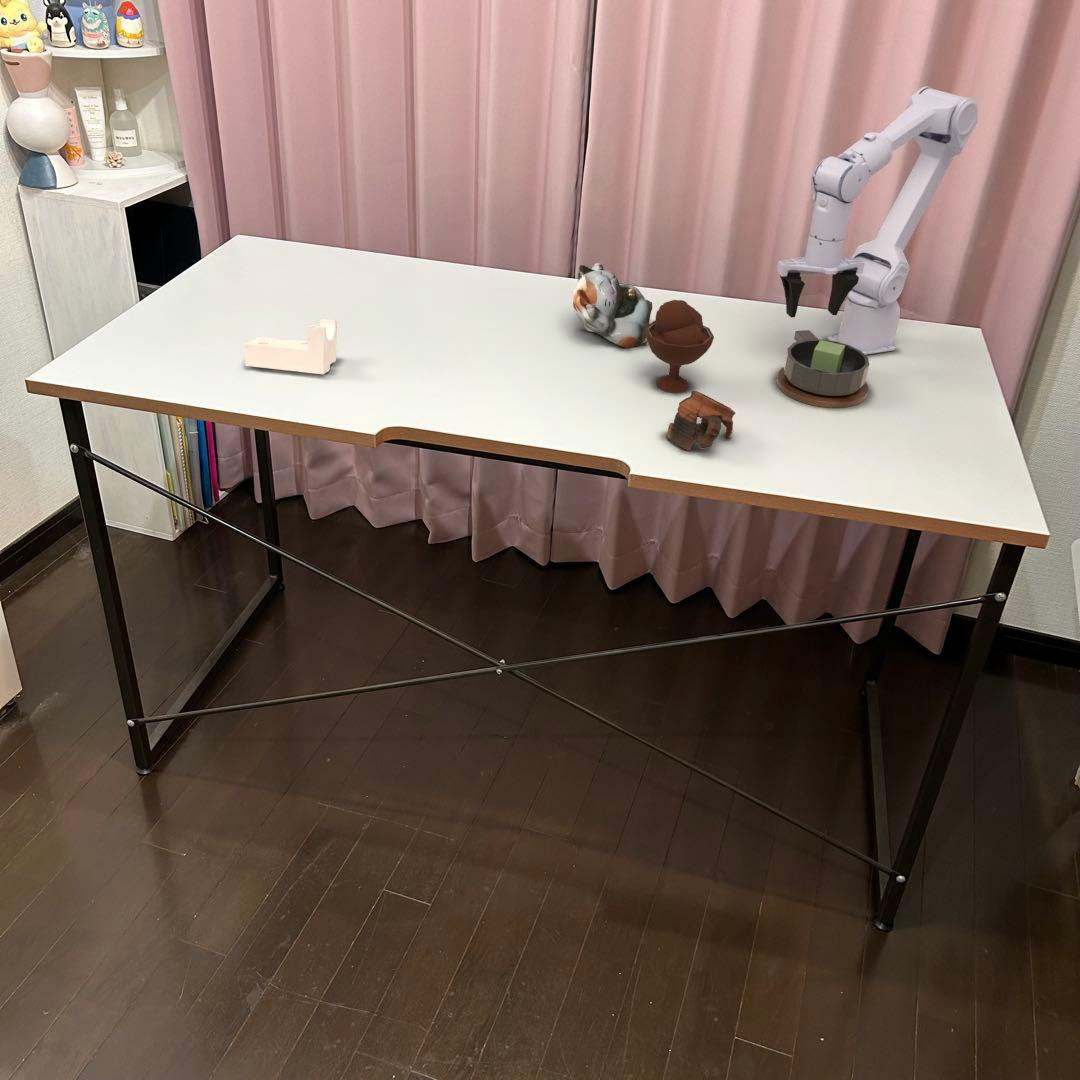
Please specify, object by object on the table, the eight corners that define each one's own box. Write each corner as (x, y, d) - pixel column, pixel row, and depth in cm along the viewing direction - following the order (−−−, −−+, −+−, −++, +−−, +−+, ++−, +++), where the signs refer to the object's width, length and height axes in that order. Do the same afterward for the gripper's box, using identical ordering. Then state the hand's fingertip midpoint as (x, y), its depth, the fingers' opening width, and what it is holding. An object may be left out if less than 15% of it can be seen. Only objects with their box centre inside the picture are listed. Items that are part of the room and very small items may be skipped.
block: (814, 367, 191) (820, 339, 188) (839, 372, 190) (845, 345, 187) (808, 376, 188) (814, 349, 185) (833, 382, 186) (839, 354, 184)
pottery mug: (654, 429, 176) (679, 381, 174) (704, 453, 179) (729, 406, 177) (679, 449, 164) (706, 398, 163) (733, 474, 168) (759, 424, 166)
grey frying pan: (877, 396, 185) (883, 371, 183) (802, 401, 183) (807, 376, 180) (832, 351, 199) (837, 328, 196) (762, 355, 196) (766, 332, 193)
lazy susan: (832, 362, 198) (833, 357, 198) (885, 400, 187) (887, 395, 186) (759, 373, 193) (760, 368, 192) (809, 413, 182) (810, 408, 181)
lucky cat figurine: (648, 353, 197) (619, 290, 188) (585, 366, 202) (554, 306, 193) (660, 299, 206) (633, 236, 197) (600, 313, 211) (570, 252, 202)
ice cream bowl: (703, 404, 182) (716, 317, 174) (634, 394, 184) (644, 307, 175) (708, 376, 191) (721, 291, 183) (643, 367, 193) (652, 283, 184)
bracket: (336, 366, 189) (337, 320, 186) (323, 374, 182) (324, 327, 180) (260, 358, 190) (260, 312, 188) (244, 365, 183) (244, 318, 181)
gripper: (795, 245, 179) (781, 325, 186) (879, 242, 182) (861, 321, 189) (778, 230, 184) (764, 308, 192) (859, 227, 187) (842, 305, 195)
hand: (811, 314), depth 191 cm, fingers open, 7 cm apart
